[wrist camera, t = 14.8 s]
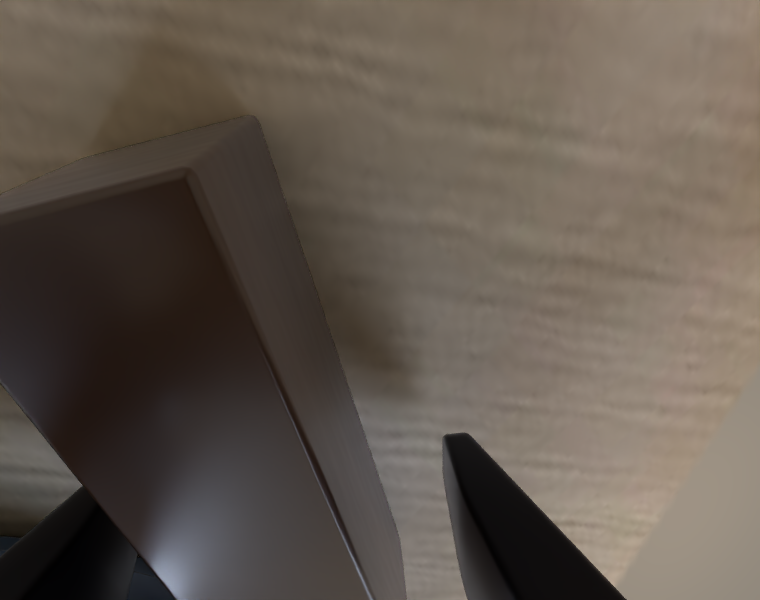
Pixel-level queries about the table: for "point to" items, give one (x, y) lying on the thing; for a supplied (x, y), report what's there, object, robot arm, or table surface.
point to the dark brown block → (193, 370)
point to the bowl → (145, 588)
